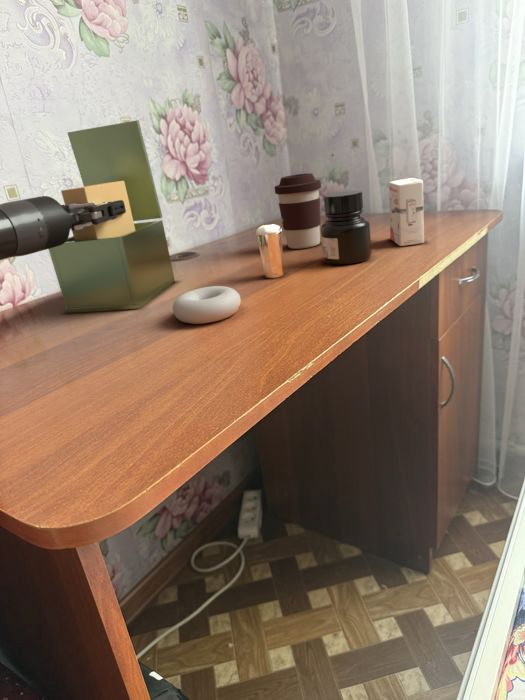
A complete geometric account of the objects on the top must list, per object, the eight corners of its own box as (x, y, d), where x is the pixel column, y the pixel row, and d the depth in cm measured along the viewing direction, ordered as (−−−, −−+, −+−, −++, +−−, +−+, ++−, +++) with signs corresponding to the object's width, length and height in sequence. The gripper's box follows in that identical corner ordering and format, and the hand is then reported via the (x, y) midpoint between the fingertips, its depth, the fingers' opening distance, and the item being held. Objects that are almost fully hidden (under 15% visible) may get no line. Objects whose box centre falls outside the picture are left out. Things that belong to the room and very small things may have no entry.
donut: (217, 330, 67) (255, 305, 75) (212, 306, 66) (251, 283, 73) (161, 326, 72) (202, 302, 80) (156, 303, 71) (198, 281, 79)
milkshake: (283, 279, 87) (276, 221, 83) (257, 279, 89) (249, 222, 86) (295, 272, 90) (289, 216, 86) (270, 272, 93) (263, 217, 89)
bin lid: (136, 120, 83) (138, 120, 84) (67, 132, 87) (69, 132, 88) (161, 218, 91) (162, 217, 91) (95, 225, 94) (97, 224, 95)
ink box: (389, 239, 105) (387, 180, 101) (413, 236, 105) (411, 177, 101) (399, 247, 97) (397, 184, 93) (425, 243, 97) (424, 180, 93)
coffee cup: (335, 241, 111) (329, 170, 105) (305, 252, 105) (297, 177, 99) (302, 239, 118) (295, 173, 112) (272, 249, 112) (263, 180, 106)
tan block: (100, 251, 81) (84, 187, 77) (77, 252, 84) (60, 190, 80) (137, 239, 88) (124, 180, 85) (115, 240, 91) (101, 183, 87)
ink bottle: (323, 256, 99) (318, 194, 94) (368, 251, 97) (365, 187, 93) (323, 268, 90) (317, 200, 85) (373, 263, 88) (370, 193, 84)
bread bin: (138, 308, 82) (121, 237, 77) (67, 313, 86) (47, 244, 81) (175, 282, 96) (162, 220, 91) (112, 287, 99) (97, 227, 95)
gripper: (52, 196, 68) (136, 180, 81) (-11, 203, 75) (76, 188, 88) (68, 250, 70) (147, 227, 84) (5, 253, 77) (87, 231, 91)
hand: (110, 207), depth 86 cm, fingers closed on tan block, 5 cm apart
